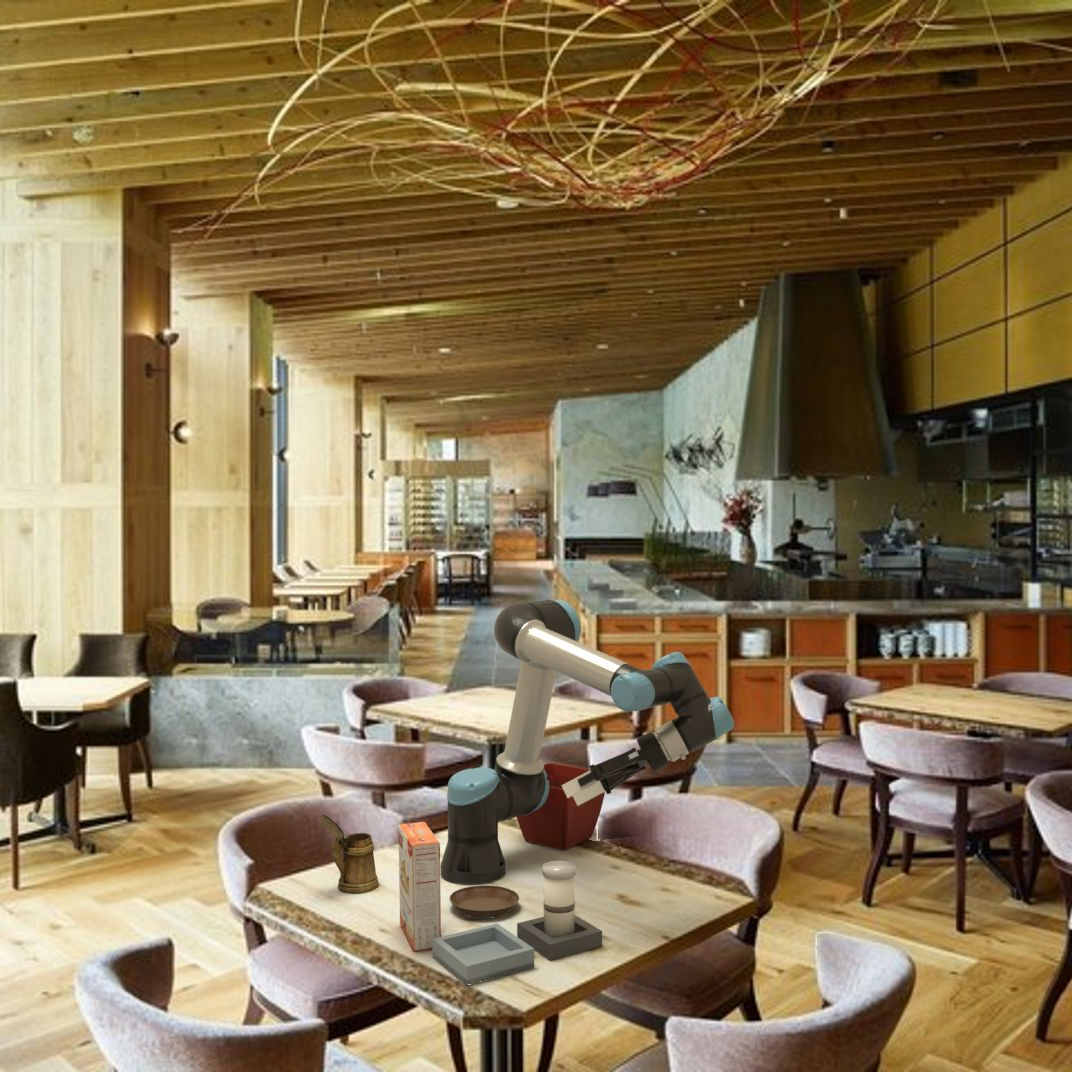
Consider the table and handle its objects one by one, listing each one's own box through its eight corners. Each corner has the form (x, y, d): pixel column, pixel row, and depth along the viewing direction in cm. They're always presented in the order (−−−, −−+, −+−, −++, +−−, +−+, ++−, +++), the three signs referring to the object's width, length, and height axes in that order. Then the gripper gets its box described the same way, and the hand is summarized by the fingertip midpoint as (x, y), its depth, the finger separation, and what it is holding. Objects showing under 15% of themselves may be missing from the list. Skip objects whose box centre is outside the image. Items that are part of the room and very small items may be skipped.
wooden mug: (312, 891, 230) (312, 810, 230) (364, 876, 239) (364, 799, 239) (333, 902, 224) (333, 819, 223) (386, 886, 233) (385, 807, 232)
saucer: (513, 894, 228) (513, 882, 228) (524, 920, 214) (524, 907, 214) (446, 899, 226) (446, 886, 226) (452, 925, 211) (452, 912, 211)
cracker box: (397, 925, 211) (397, 823, 210) (426, 921, 213) (426, 820, 212) (411, 953, 198) (410, 844, 197) (442, 948, 199) (441, 841, 199)
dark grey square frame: (517, 938, 204) (517, 923, 204) (567, 925, 210) (568, 910, 210) (549, 960, 194) (549, 944, 194) (602, 946, 200) (602, 931, 200)
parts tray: (432, 957, 196) (432, 938, 196) (496, 940, 203) (496, 923, 203) (467, 986, 184) (466, 966, 184) (534, 967, 191) (534, 948, 191)
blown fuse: (536, 940, 203) (536, 864, 203) (564, 933, 207) (563, 858, 206) (554, 952, 198) (554, 874, 197) (582, 944, 201) (581, 867, 201)
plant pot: (566, 857, 252) (566, 788, 251) (505, 842, 263) (505, 776, 263) (610, 837, 267) (609, 772, 267) (550, 824, 279) (550, 762, 278)
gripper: (666, 753, 199) (568, 806, 198) (674, 772, 222) (586, 819, 221) (647, 719, 202) (551, 770, 201) (657, 741, 224) (570, 787, 224)
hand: (569, 796), depth 211 cm, fingers open, 13 cm apart
